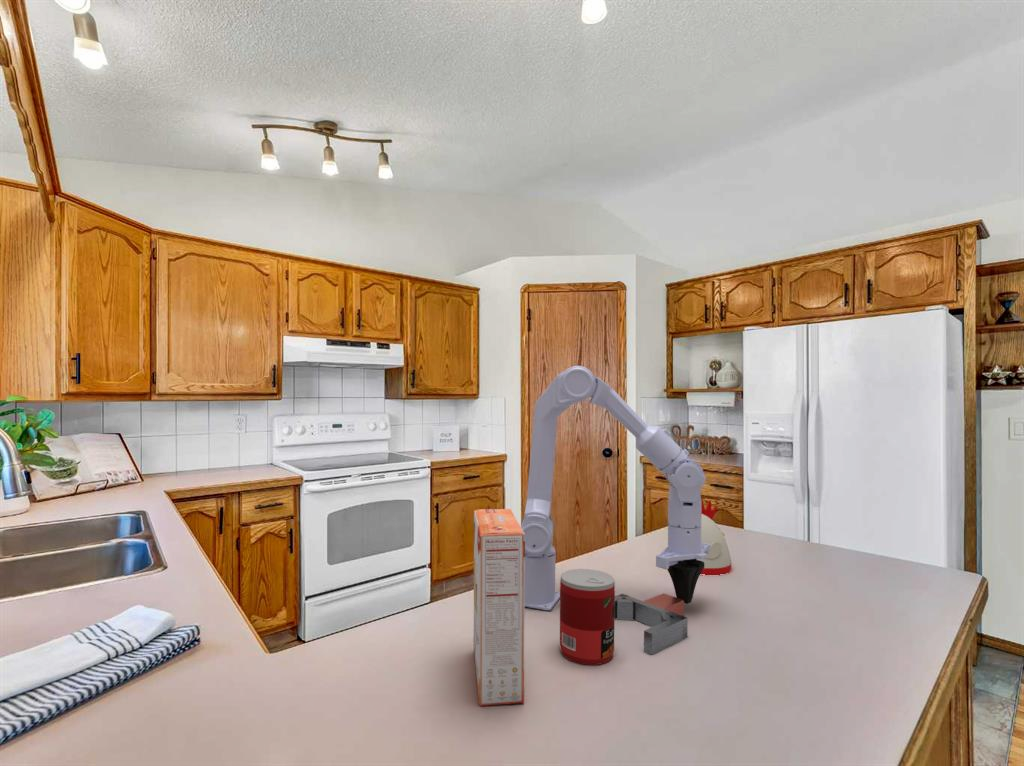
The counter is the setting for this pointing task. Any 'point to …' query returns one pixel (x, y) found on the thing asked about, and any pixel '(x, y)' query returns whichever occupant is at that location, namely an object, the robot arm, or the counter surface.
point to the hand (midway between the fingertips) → (684, 601)
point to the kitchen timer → (714, 544)
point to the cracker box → (499, 606)
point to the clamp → (655, 619)
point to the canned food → (587, 616)
